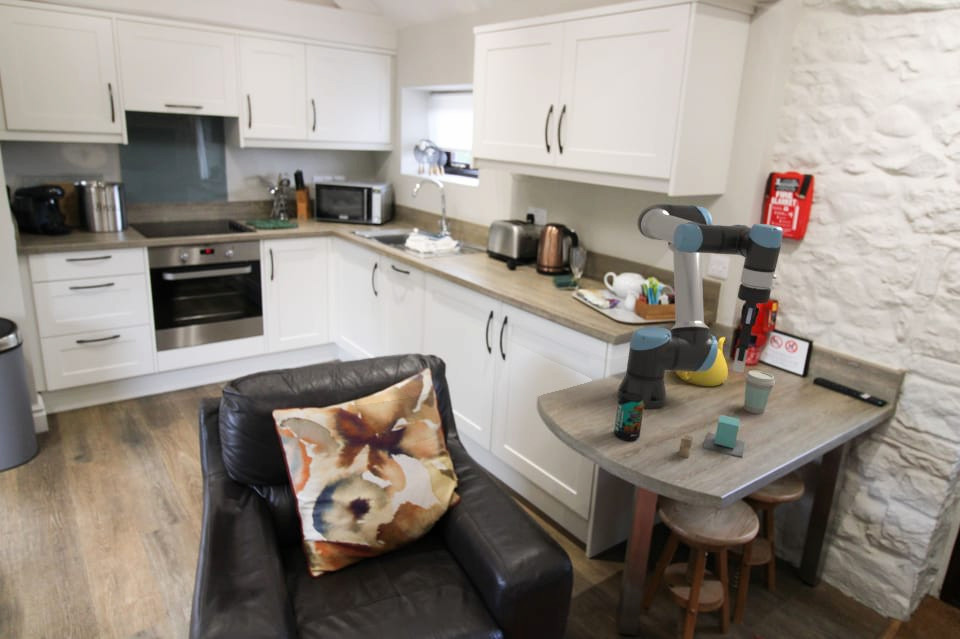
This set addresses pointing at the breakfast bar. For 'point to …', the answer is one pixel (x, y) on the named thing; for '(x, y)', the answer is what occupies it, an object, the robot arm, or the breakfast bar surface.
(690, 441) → the oak stub
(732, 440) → the teal rectangular block
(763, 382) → the coffee cup
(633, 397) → the beverage can
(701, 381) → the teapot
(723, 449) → the grey square base stand
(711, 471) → the breakfast bar surface
